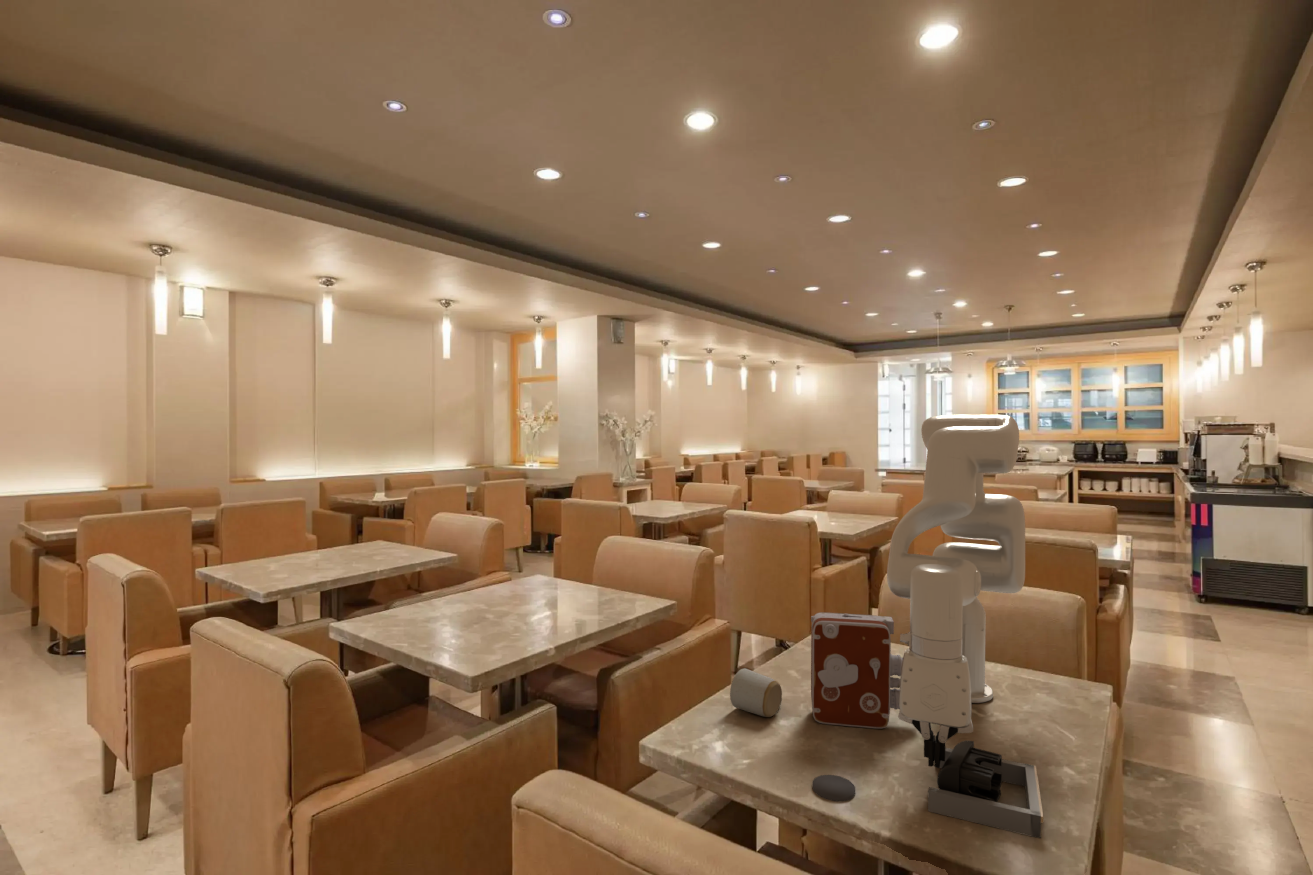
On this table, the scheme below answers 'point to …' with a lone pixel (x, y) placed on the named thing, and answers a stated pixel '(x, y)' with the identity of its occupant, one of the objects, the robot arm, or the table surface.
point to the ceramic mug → (755, 693)
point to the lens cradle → (995, 811)
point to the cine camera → (853, 670)
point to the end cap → (971, 772)
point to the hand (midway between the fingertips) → (934, 762)
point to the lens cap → (833, 788)
